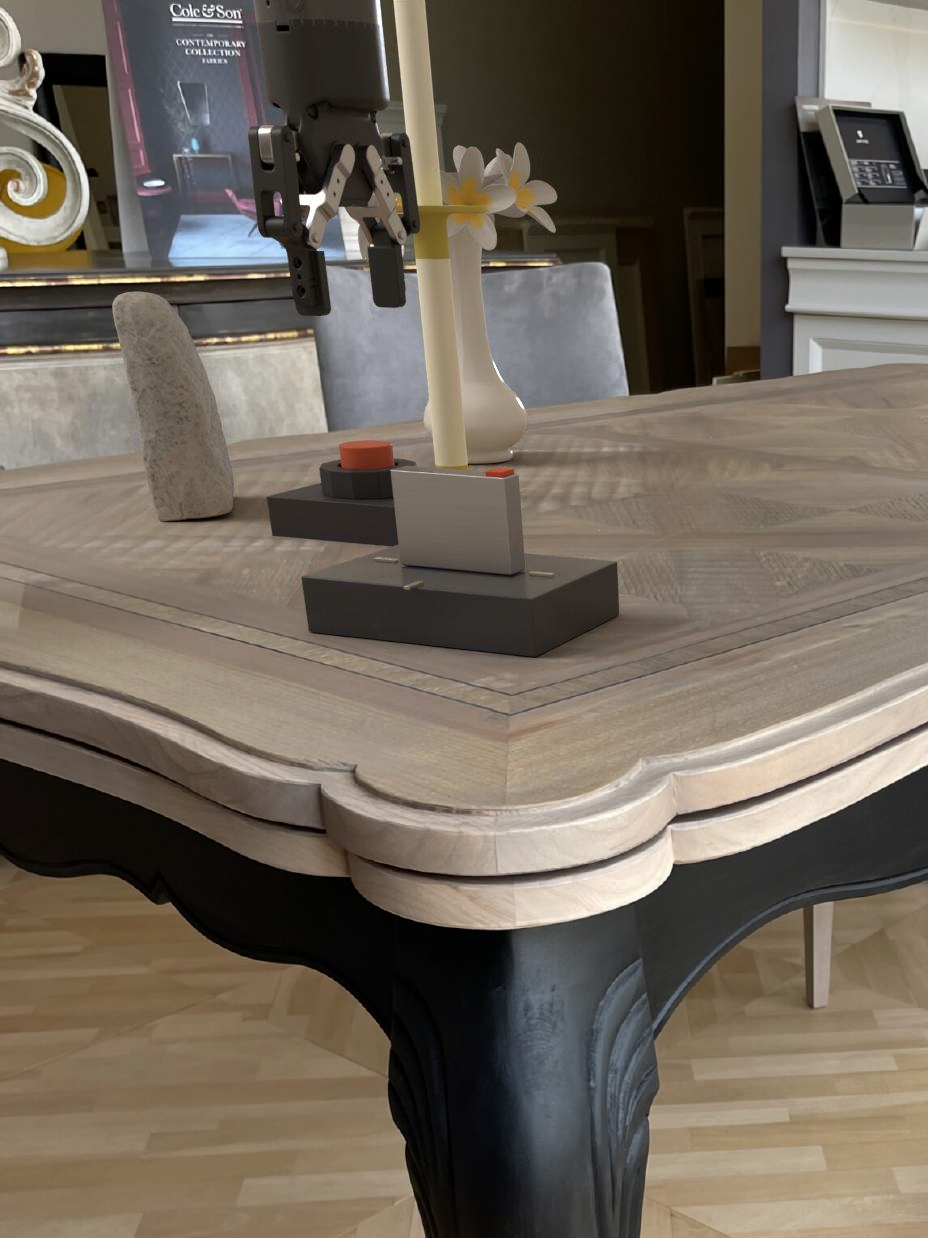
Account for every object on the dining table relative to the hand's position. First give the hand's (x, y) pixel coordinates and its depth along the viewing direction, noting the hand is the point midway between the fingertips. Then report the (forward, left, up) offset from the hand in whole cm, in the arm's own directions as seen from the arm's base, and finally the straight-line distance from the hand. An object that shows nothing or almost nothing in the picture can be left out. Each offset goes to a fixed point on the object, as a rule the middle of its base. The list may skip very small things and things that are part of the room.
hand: (353, 311), depth 101 cm
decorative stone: (-18, +2, -14) cm, 23 cm away
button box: (-1, 0, -14) cm, 14 cm away
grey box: (+20, -21, -11) cm, 31 cm away
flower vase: (-12, +32, -14) cm, 37 cm away
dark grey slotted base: (+19, -21, -14) cm, 32 cm away
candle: (-3, +14, -14) cm, 20 cm away
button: (0, 0, -10) cm, 10 cm away
